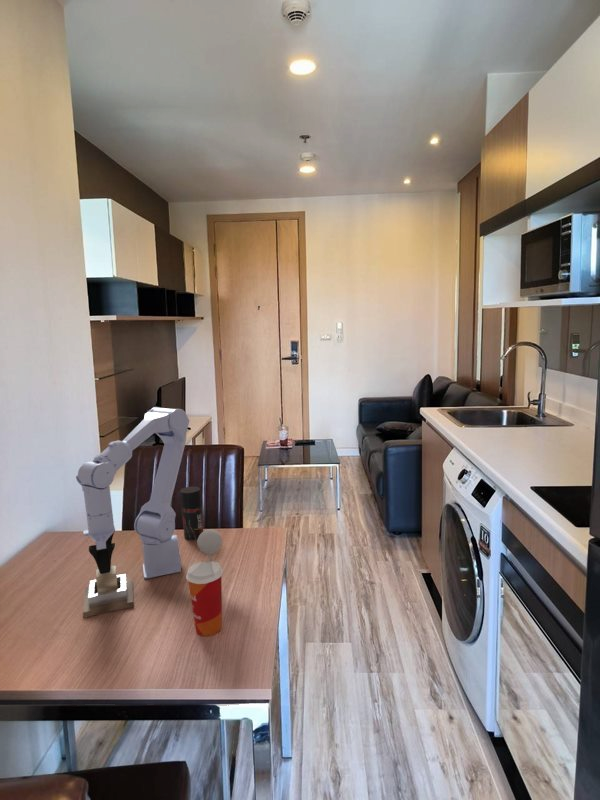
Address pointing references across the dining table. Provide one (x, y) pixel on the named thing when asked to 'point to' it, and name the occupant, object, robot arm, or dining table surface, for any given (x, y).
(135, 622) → the dining table surface
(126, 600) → the collar board
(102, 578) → the sleeve block
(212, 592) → the paper cup
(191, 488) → the deodorant
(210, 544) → the lollipop
